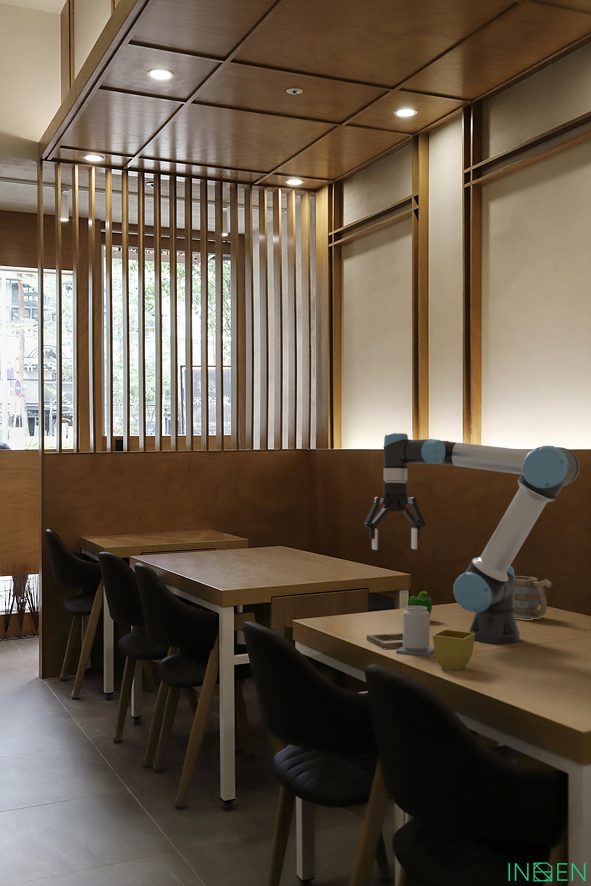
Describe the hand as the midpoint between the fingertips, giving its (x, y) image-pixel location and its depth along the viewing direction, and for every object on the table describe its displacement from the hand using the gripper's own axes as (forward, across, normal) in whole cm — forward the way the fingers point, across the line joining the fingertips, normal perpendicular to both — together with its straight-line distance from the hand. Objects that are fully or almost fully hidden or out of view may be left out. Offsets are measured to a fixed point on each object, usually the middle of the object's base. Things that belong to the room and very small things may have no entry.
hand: (394, 549), depth 261 cm
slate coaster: (+27, +4, +24) cm, 36 cm away
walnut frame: (+27, +6, +12) cm, 30 cm away
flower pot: (+27, +3, +44) cm, 52 cm away
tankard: (+27, -58, -13) cm, 65 cm away
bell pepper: (+27, -18, -20) cm, 38 cm away
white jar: (+26, +4, +24) cm, 36 cm away
